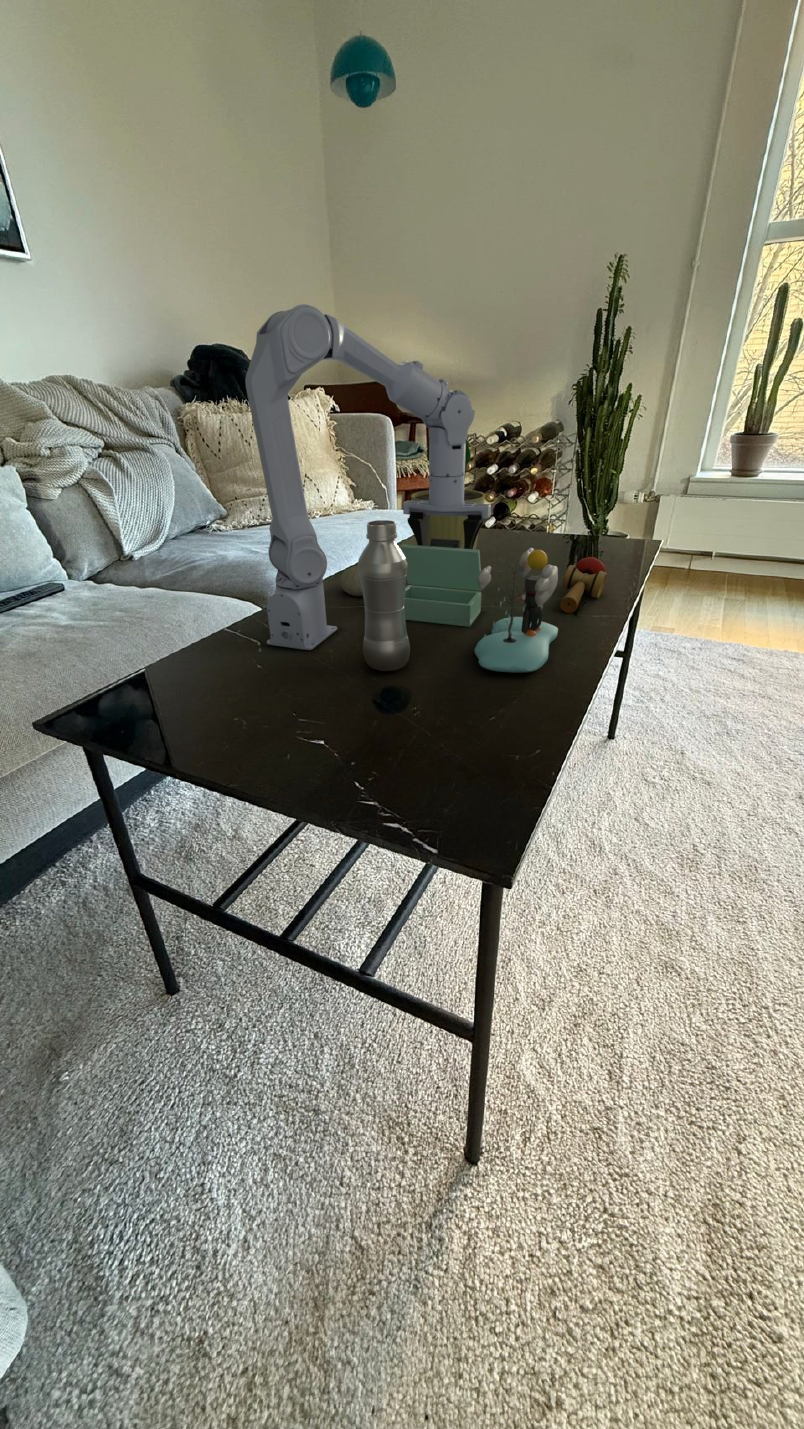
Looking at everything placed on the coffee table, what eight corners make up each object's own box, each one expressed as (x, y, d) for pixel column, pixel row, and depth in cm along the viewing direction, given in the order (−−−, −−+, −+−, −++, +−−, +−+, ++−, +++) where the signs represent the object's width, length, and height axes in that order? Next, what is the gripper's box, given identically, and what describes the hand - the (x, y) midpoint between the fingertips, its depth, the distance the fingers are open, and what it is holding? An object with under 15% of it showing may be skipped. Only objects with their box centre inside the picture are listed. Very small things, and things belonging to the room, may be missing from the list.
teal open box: (469, 627, 98) (470, 605, 96) (393, 618, 102) (393, 597, 100) (480, 612, 104) (481, 591, 102) (408, 604, 108) (408, 585, 106)
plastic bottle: (405, 678, 82) (402, 529, 72) (358, 675, 83) (348, 528, 73) (414, 659, 87) (412, 518, 77) (369, 656, 88) (362, 517, 79)
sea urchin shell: (392, 588, 110) (360, 558, 108) (364, 617, 113) (332, 589, 111) (394, 574, 118) (364, 546, 116) (367, 601, 121) (337, 574, 119)
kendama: (594, 623, 102) (614, 580, 114) (591, 589, 98) (612, 549, 111) (549, 624, 106) (574, 583, 118) (545, 591, 102) (571, 552, 115)
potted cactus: (493, 561, 132) (502, 410, 118) (462, 579, 121) (467, 414, 106) (433, 553, 140) (434, 410, 125) (398, 569, 128) (394, 414, 114)
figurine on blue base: (501, 624, 99) (507, 531, 91) (566, 633, 95) (578, 536, 87) (460, 672, 83) (463, 564, 76) (536, 685, 79) (548, 572, 72)
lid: (478, 552, 96) (484, 536, 98) (400, 546, 100) (408, 531, 102) (481, 590, 102) (487, 574, 104) (407, 584, 106) (414, 568, 108)
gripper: (496, 472, 97) (492, 556, 103) (412, 470, 101) (413, 550, 108) (486, 478, 91) (482, 567, 98) (398, 476, 95) (399, 560, 102)
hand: (445, 559), depth 102 cm, fingers open, 7 cm apart
